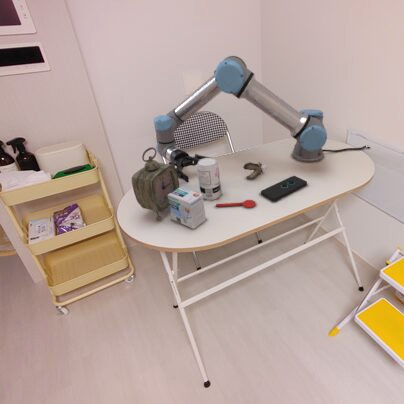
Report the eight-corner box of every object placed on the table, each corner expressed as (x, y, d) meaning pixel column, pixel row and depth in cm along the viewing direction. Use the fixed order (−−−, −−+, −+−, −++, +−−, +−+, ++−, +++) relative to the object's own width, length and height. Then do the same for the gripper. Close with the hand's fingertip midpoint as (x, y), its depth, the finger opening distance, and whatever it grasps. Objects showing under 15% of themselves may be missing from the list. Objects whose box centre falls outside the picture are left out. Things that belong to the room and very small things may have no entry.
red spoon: (215, 210, 114) (215, 207, 113) (216, 203, 118) (215, 200, 117) (255, 207, 115) (255, 205, 114) (255, 200, 119) (254, 198, 118)
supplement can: (198, 192, 124) (194, 159, 116) (218, 188, 127) (214, 155, 119) (203, 202, 118) (198, 168, 110) (223, 198, 121) (220, 164, 112)
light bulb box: (171, 219, 109) (166, 194, 103) (185, 210, 113) (180, 185, 107) (194, 229, 104) (189, 203, 98) (206, 219, 109) (203, 194, 103)
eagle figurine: (254, 166, 141) (240, 169, 135) (262, 157, 136) (247, 159, 130) (263, 179, 139) (248, 183, 133) (270, 170, 134) (255, 173, 128)
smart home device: (308, 181, 128) (274, 198, 117) (307, 185, 129) (274, 202, 118) (293, 174, 133) (259, 190, 122) (293, 178, 134) (259, 194, 123)
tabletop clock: (160, 224, 107) (144, 159, 93) (139, 218, 109) (120, 155, 95) (182, 202, 118) (171, 142, 104) (163, 198, 121) (149, 139, 107)
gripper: (203, 157, 143) (228, 172, 130) (152, 173, 130) (175, 192, 116) (201, 142, 139) (227, 156, 126) (149, 157, 126) (172, 175, 112)
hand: (202, 174), depth 121 cm, fingers open, 13 cm apart
